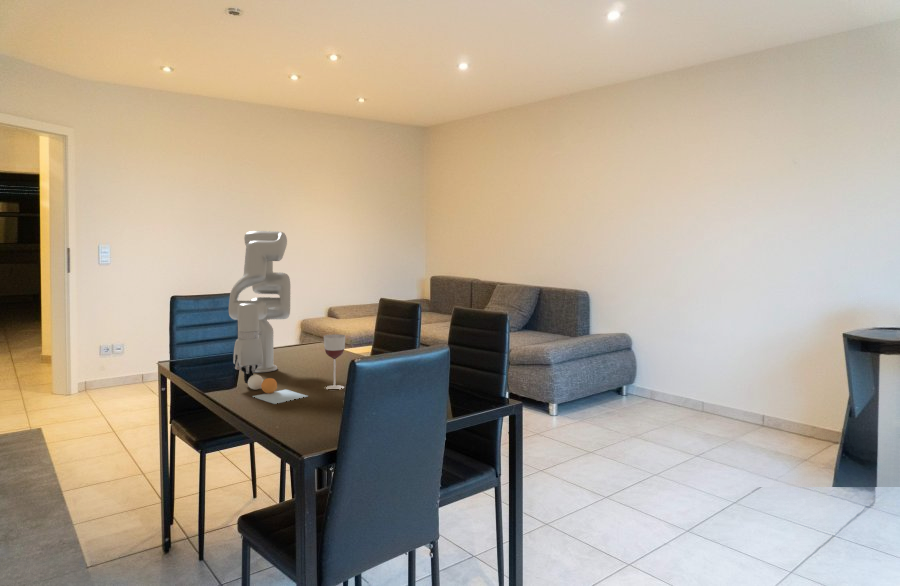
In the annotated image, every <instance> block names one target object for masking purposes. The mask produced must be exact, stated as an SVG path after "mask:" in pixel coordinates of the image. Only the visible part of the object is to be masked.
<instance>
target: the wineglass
mask: <svg viewBox="0 0 900 586" xmlns="http://www.w3.org/2000/svg"><path fill="white" fill-rule="evenodd" d="M323 344H324V345H323V346H324V351H325V354H326V355H327V357H330V358H331V359H333V385H327V387H326V386H325V387H326V389H325V390H328V389H339V390H342V389H344V388H345V386H343V385H340V384H339V385H338V384H337V385H336V381H337V380H336V375H337V374H336V373H337V371H336V369H337V367H336V359H337V358H339V357H340V356H342V355H343V354H344V351H345V348H346V347H345V346H346V335H345V334H335V333H334V334H325V335H323ZM341 388H342V389H341Z"/></svg>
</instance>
